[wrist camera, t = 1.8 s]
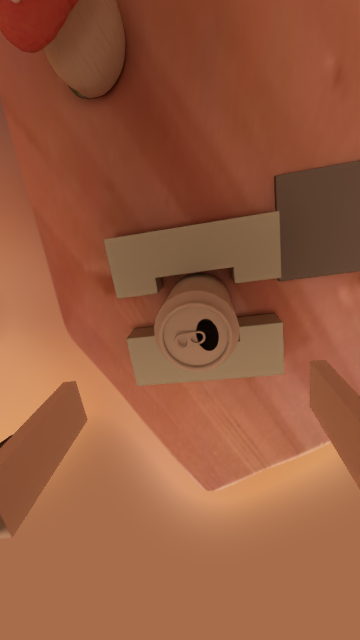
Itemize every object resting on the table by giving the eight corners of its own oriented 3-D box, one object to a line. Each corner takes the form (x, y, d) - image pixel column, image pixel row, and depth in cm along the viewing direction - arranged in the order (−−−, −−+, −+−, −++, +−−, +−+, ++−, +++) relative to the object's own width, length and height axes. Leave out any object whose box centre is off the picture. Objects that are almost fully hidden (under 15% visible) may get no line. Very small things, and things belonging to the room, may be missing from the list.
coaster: (274, 176, 27) (275, 175, 27) (389, 156, 26) (393, 154, 25) (277, 280, 31) (279, 281, 30) (380, 267, 29) (383, 268, 29)
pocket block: (114, 238, 31) (103, 239, 28) (270, 213, 28) (279, 210, 25) (143, 371, 36) (137, 385, 33) (276, 360, 34) (284, 374, 31)
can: (233, 325, 33) (248, 374, 22) (176, 334, 34) (161, 385, 23) (224, 266, 31) (234, 286, 19) (163, 278, 32) (139, 304, 21)
